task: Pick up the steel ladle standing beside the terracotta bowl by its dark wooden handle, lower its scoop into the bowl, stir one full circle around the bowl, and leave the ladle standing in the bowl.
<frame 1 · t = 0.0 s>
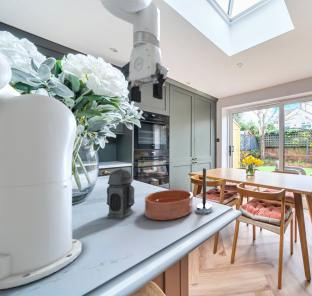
hand: (146, 100, 53), 37 cm above the kitchen island, tool pointing down, fingers open, 9 cm apart
bowl: (169, 211, 57), on the kitchen island
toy: (121, 215, 54), on the kitchen island
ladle: (204, 210, 58), on the kitchen island
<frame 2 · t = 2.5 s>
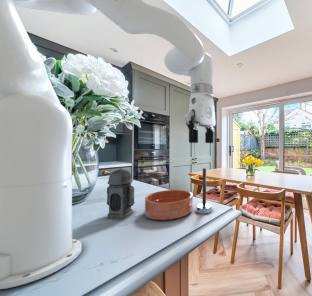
hand: (202, 142, 58), 24 cm above the kitchen island, tool pointing down, fingers open, 9 cm apart
nothing on the kitchen island moved.
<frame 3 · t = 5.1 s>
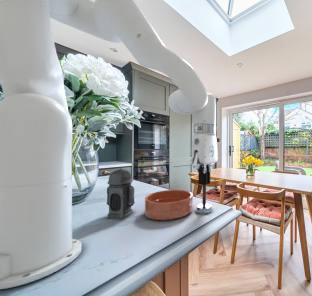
hand: (204, 183, 58), 10 cm above the kitchen island, tool pointing down, fingers closed on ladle
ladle: (204, 210, 58), on the kitchen island, touching gripper
everything else where it was.
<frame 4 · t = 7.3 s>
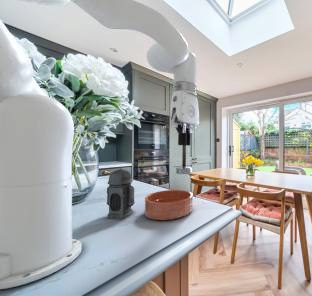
hand: (184, 145, 57), 23 cm above the kitchen island, tool pointing down, fingers closed on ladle
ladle: (183, 172, 57), point 13 cm above the kitchen island, touching gripper
everything else where it was.
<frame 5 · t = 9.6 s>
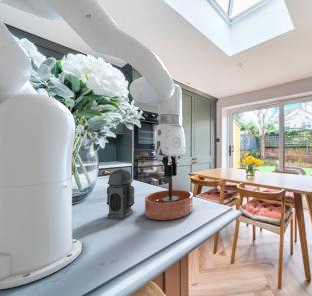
hand: (170, 175, 57), 12 cm above the kitchen island, tool pointing down, fingers closed on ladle
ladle: (170, 203, 57), point 3 cm above the kitchen island, touching gripper
everything else where it was.
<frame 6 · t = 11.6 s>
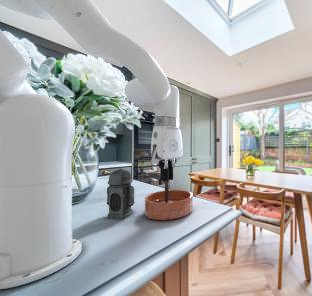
hand: (166, 179, 55), 11 cm above the kitchen island, tool pointing down, fingers closed on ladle
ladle: (166, 208, 55), point 2 cm above the kitchen island, touching gripper
everything else where it was.
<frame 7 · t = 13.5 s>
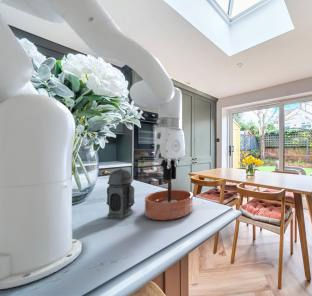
hand: (169, 179, 57), 11 cm above the kitchen island, tool pointing down, fingers closed
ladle: (169, 207, 57), point 2 cm above the kitchen island
everything else where it was.
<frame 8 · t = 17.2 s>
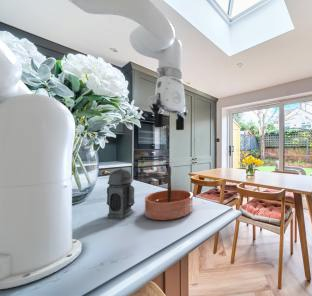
hand: (170, 128, 57), 28 cm above the kitchen island, tool pointing down, fingers open, 9 cm apart
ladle: (169, 210, 57), point 1 cm above the kitchen island, touching bowl
everything else where it was.
at the end: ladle inside the target area in the bowl (0.2 cm from its centre), point 0.6 cm above the bowl's base; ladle tilted 0°; the gripper is holding nothing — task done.
